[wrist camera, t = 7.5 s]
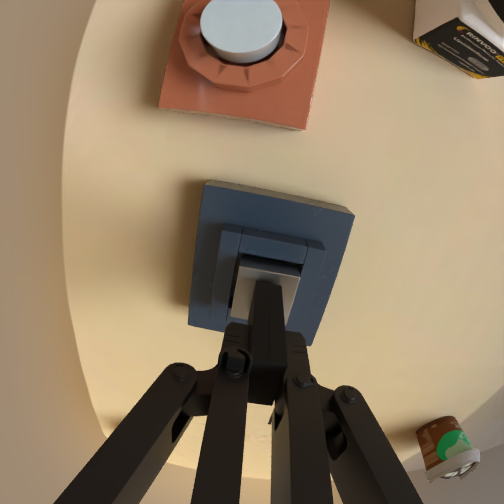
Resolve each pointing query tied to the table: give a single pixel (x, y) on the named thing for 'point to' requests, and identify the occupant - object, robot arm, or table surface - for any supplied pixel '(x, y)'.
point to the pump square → (267, 273)
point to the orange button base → (247, 70)
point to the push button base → (265, 250)
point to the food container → (446, 450)
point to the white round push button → (241, 28)
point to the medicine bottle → (463, 33)
